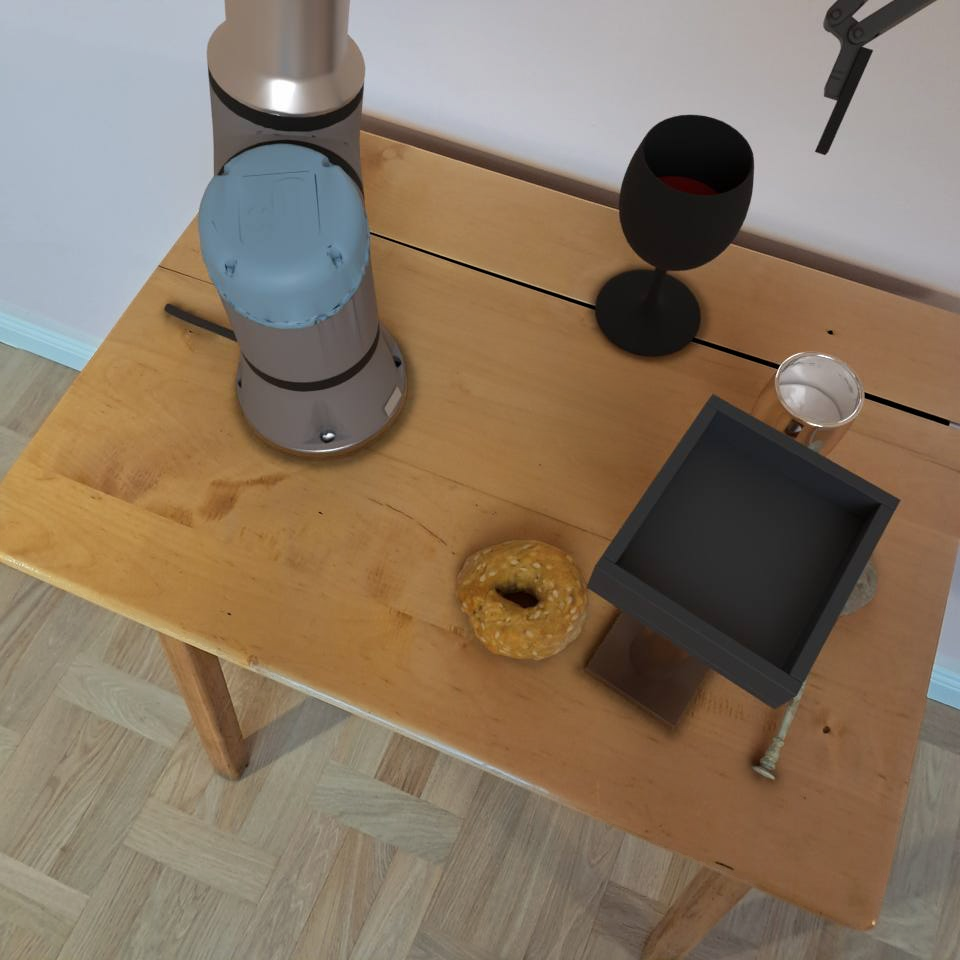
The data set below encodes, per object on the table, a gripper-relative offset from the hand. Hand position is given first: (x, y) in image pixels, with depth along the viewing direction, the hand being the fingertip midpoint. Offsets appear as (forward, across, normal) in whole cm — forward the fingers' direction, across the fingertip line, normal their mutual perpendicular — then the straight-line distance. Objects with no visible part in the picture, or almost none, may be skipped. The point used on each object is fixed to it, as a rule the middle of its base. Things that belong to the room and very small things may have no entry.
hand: (918, 185), depth 59 cm
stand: (+39, +3, +3) cm, 39 cm away
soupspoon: (+35, -8, -1) cm, 36 cm away
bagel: (+39, +14, +4) cm, 42 cm away
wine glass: (+17, +15, -19) cm, 30 cm away
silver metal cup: (+26, 0, -10) cm, 28 cm away
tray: (+23, +3, +20) cm, 30 cm away
